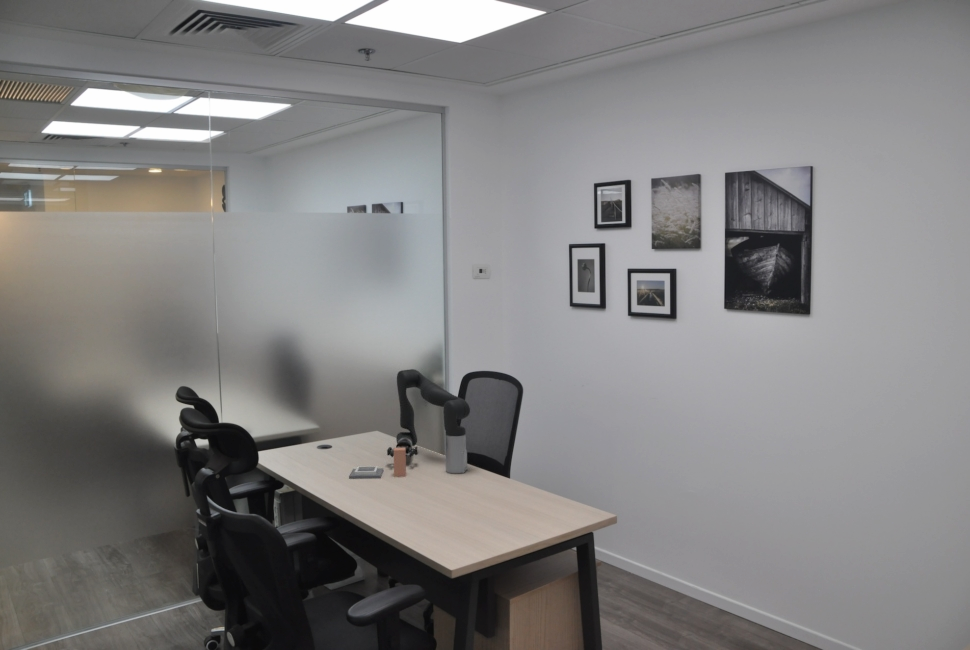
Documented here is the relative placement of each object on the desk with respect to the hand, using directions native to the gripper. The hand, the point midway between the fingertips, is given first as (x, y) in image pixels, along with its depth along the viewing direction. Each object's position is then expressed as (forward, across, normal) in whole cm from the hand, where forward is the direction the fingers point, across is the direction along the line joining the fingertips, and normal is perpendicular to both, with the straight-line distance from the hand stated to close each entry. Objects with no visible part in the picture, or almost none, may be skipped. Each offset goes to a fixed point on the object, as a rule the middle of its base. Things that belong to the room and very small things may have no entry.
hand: (401, 454), depth 338 cm
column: (+9, 0, +7) cm, 11 cm away
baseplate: (+8, -15, +7) cm, 19 cm away
